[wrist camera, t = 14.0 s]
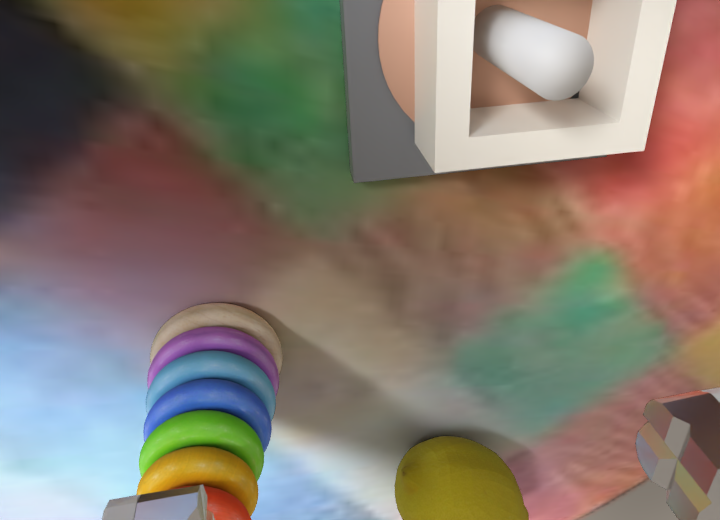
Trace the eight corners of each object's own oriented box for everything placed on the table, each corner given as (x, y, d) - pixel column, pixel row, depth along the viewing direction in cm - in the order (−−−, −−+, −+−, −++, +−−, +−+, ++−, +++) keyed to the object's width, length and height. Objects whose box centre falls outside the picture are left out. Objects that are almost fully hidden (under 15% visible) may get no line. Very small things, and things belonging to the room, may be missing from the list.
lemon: (360, 454, 43) (378, 554, 37) (435, 391, 41) (469, 486, 34) (452, 504, 48) (484, 601, 42) (524, 450, 46) (569, 544, 39)
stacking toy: (292, 305, 36) (318, 622, 20) (270, 400, 39) (276, 731, 23) (158, 288, 34) (66, 626, 18) (148, 390, 37) (64, 744, 21)
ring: (414, -87, 24) (439, -87, 21) (639, -101, 25) (698, -103, 22) (414, 142, 29) (434, 173, 26) (601, 124, 30) (644, 150, 27)
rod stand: (331, -139, 24) (363, -161, 17) (644, -154, 26) (806, -182, 18) (350, 172, 32) (378, 255, 24) (593, 147, 33) (693, 218, 25)
